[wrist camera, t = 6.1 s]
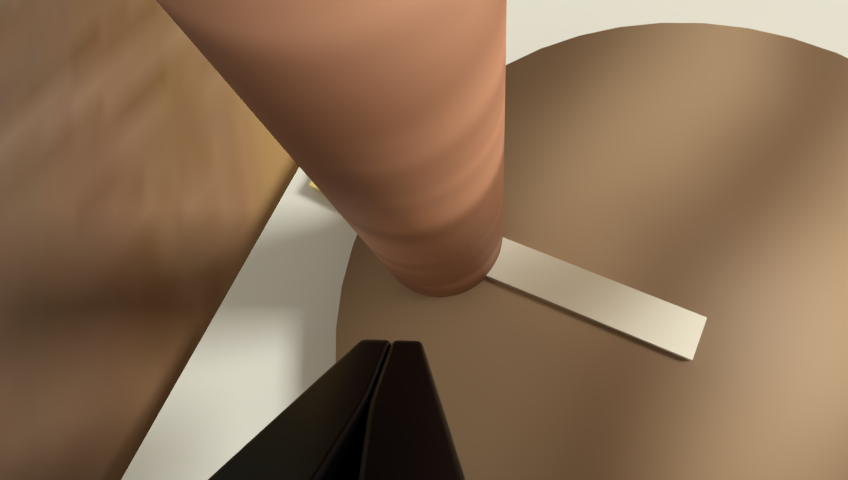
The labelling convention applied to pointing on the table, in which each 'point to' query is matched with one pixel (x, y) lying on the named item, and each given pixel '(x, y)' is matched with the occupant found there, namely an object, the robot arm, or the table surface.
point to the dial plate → (333, 240)
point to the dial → (576, 226)
